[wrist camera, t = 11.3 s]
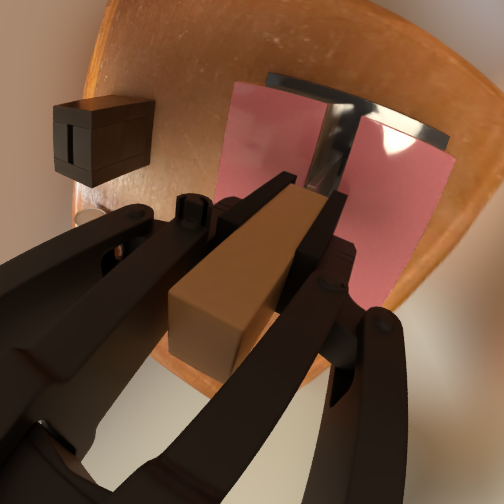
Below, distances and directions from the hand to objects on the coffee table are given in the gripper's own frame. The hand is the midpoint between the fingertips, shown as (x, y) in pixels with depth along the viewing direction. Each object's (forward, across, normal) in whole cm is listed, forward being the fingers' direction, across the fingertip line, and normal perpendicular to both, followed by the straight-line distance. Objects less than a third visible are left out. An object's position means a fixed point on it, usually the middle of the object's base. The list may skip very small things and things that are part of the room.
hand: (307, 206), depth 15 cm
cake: (+12, 0, -2) cm, 12 cm away
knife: (+9, 0, 0) cm, 9 cm away
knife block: (+12, -25, -3) cm, 28 cm away
